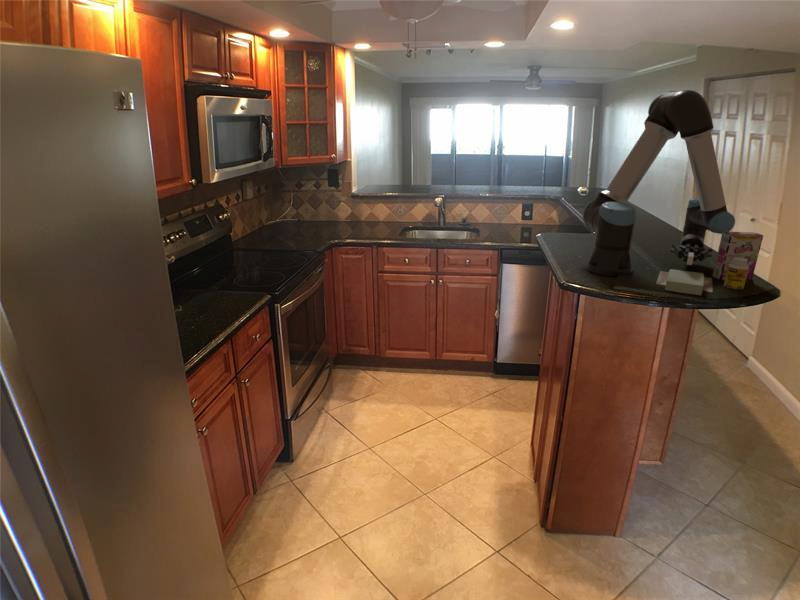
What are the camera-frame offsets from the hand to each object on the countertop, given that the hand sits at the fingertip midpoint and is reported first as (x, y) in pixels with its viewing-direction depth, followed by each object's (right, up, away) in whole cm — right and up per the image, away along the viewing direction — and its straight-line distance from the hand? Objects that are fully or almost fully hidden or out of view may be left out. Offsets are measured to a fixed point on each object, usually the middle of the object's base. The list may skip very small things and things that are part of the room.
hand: (690, 260), depth 173 cm
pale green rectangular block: (+1, -5, +5) cm, 7 cm away
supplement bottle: (+13, -10, 0) cm, 16 cm away
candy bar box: (+19, -6, +10) cm, 22 cm away
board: (+1, -7, +5) cm, 9 cm away
